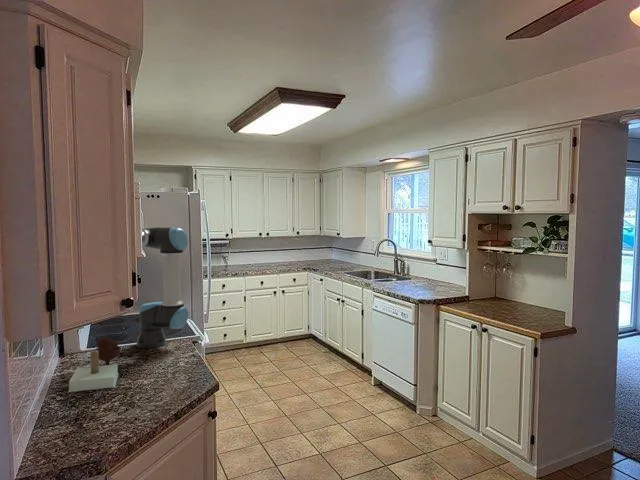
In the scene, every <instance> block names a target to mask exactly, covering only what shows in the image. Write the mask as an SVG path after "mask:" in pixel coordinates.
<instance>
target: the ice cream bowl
mask: <svg viewBox="0 0 640 480" xmlns="http://www.w3.org/2000/svg"><path fill="white" fill-rule="evenodd" d="M121 349H122V348H121V346H119V344H118V342H117V341H116V340H114V339H111V338H109V337H105V336H104V337H101V338H99V339H98V340H97V343H96V348H94V350H98V351H99V360H100V361H103V362H105V365H111V363H110V362H111V360H114V359H115V358H116V357H117V356H118V355H119V354H120V352H121ZM105 365H104V366H105Z"/></svg>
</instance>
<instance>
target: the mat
mask: <svg viewBox="0 0 640 480" xmlns="http://www.w3.org/2000/svg"><path fill="white" fill-rule="evenodd" d="M119 374H120V373H119V372H118V374H117V377H116V381H115V384H114V387H113V388H115V387H116V385H117V382H118V378H119ZM108 388H109V389H111V388H112V387H106V388H105V389H108ZM100 389H103V388H97V389H96V390H100ZM89 390H90V391H91V390H92V391H93V390H94V389H88V390H87V391H89ZM82 391H85V390H78V391H77V392H82ZM72 392H75V391H69V389H68V391H67V393H72Z"/></svg>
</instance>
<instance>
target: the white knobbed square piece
mask: <svg viewBox="0 0 640 480" xmlns="http://www.w3.org/2000/svg"><path fill="white" fill-rule="evenodd" d="M99 360H100V359H99V351H98V350H95V349H94V350H91V351H90V366H86V367H85V366H84V367H76V369H75V371H74V372H73V374H72V376H71V378H70V380H69V381H68V384H69V385H68V390H69V391H74V392H79V391H78V390H84V391H89V390H88V389H93V390H98V389H97V388H102V389H107V388H106V387H111V388H115V387H114V384H115V381H116V377H117V374H118V373H119V372H118V370H119V369H118V368H119V367H118V364H116V363H115V364H110V365H100V364H99V363H100V361H99Z"/></svg>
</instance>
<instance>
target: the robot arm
mask: <svg viewBox="0 0 640 480" xmlns="http://www.w3.org/2000/svg"><path fill="white" fill-rule="evenodd" d="M141 229H142V247H141V248H149V249H150V248H151V249H157V250H159V253H160V255H161V256H162V258H163V262H162V263H163V264H162V265H163V270H162V271H163V301H154V302H148V303H147V302H146V303H143V304H141V305H140V307H139V334H138V336H137V339H136V347H137V348H139V349H140V348H141V349H155V348H159V347H163V346H165V345H167V338H166V335H165V333H164V330H163V328H167V329H172V330H174V329H181V328H183V327H184V326H185V325H186V323H187V321H188V319H189V310H188V308H187V307H185V306H184V305H185V304H184V301H183V300H182V299H181V298H182V296H181V294H182V293H181V290H182V289H181V287H182V286H181V256H182V255H183V254H184V250H185V249H186V248H187V246H188V243H189V240H188V236H187V233H186V232H185V230H184V229H182V228H180V227H156V226H155V227H150V228H141Z"/></svg>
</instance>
